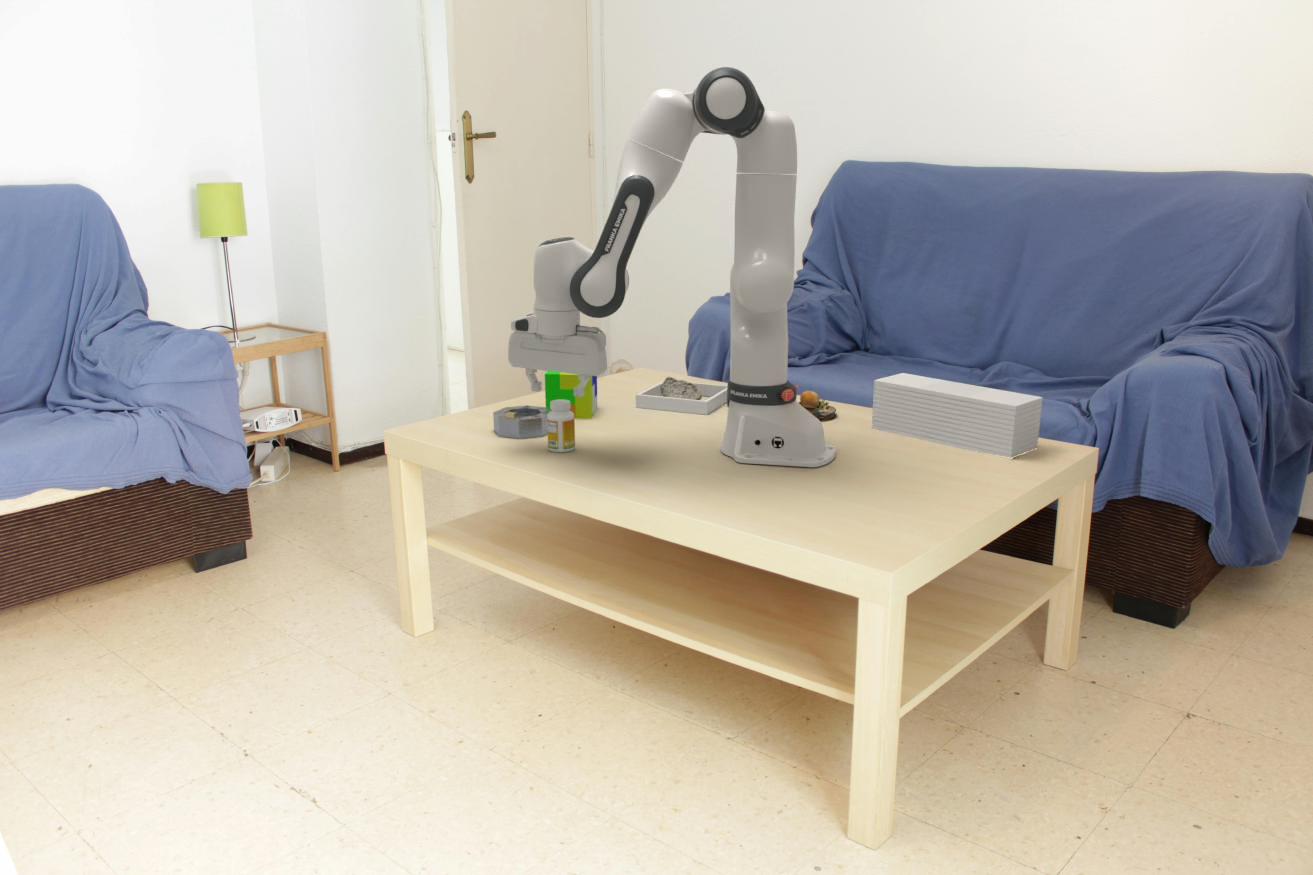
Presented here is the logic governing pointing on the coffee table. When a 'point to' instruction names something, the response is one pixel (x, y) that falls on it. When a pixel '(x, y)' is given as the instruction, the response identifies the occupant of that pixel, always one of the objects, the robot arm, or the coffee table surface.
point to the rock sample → (679, 389)
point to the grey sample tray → (655, 401)
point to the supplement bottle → (560, 427)
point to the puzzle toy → (571, 393)
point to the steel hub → (521, 421)
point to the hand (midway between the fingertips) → (557, 393)
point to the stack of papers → (957, 414)
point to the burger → (817, 406)
